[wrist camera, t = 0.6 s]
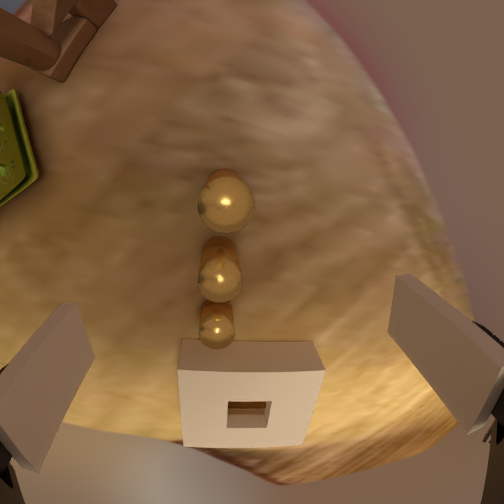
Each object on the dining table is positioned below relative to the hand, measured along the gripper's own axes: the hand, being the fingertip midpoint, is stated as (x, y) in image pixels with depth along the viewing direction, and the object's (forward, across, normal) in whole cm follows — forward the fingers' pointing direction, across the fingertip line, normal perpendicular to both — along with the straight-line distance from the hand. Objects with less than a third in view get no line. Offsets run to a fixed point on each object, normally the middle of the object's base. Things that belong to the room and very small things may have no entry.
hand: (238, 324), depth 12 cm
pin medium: (+21, -1, -4) cm, 22 cm away
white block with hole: (+21, 0, -22) cm, 31 cm away
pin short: (+21, -2, -11) cm, 24 cm away
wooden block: (+21, -16, +22) cm, 35 cm away
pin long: (+21, 0, +3) cm, 21 cm away
